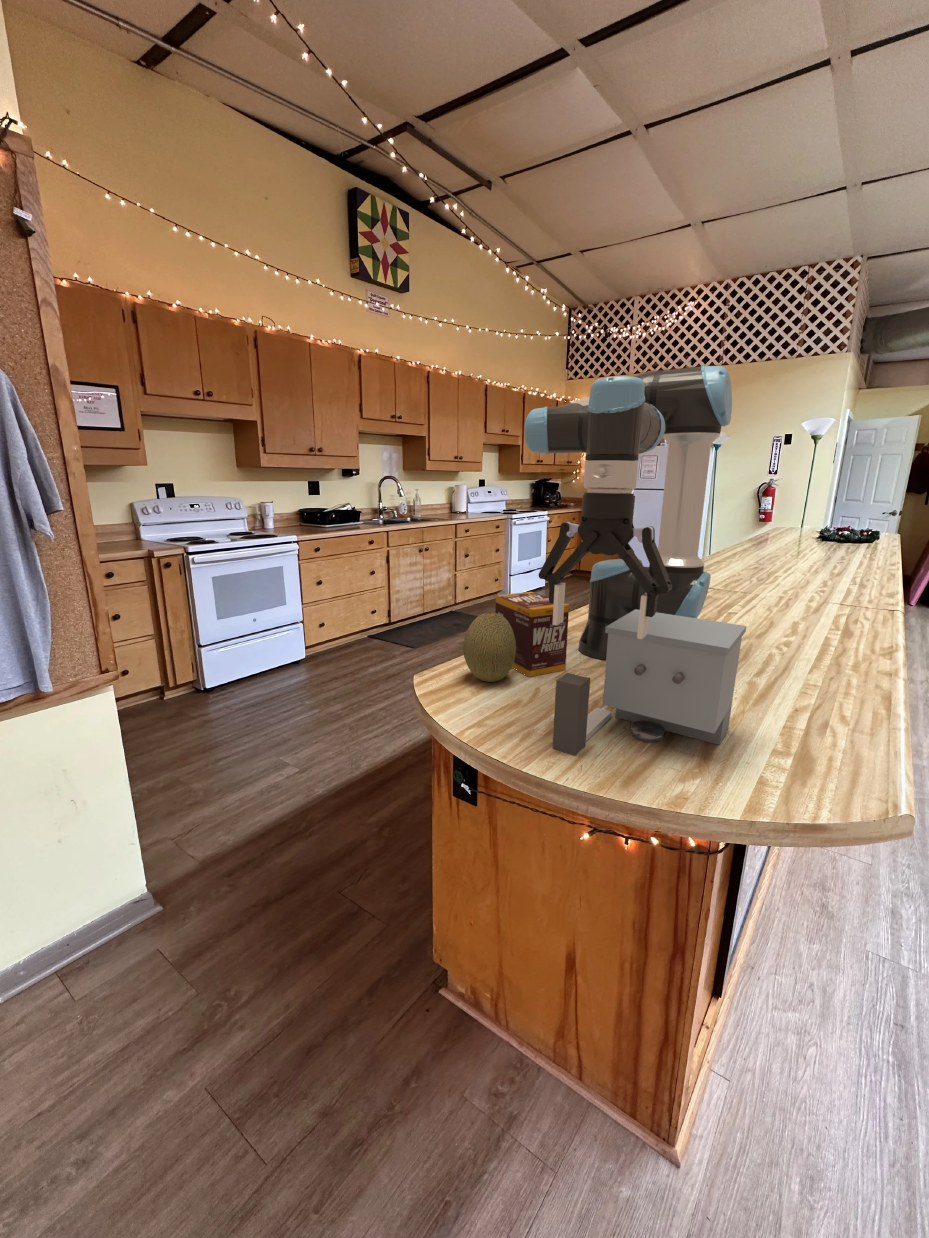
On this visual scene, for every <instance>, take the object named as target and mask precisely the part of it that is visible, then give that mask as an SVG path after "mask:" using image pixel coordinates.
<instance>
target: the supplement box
mask: <svg viewBox="0 0 929 1238" xmlns="http://www.w3.org/2000/svg"><path fill="white" fill-rule="evenodd" d="M553 606H554V603H550V602H549V596H545V595H543V594H540V593H536V592H534V591H526V592H516V593H507V594H498V595H495V611H494V613H497V614H500V615H502V616H503V617H504V618H505V619H506V620H507V621H508V622H509V624H510V626H511V628H512V630H513V633H514V636H515V641H516V654H515V660H514V663H513V665H512V667H513V668H512V669H514V668H515V669H517V670H518V672H519V671H520V672H522V673H523V675H524V674H525V675H524V676H526V677H527V676H528V677H527V678H530V677H531V678H532V677H536V675H537V676H541V675H546V674H552V673H557V672H561V671H566V665H567V649H568V648H567V647H568V631H569V629H568V628H569V612H570V603H566V602H564V617H563V622H562V623H560V624H558V625H552V624H553ZM515 669H514V670H515ZM517 670H516V671H517ZM520 672H519V673H520ZM522 673H521V674H522Z"/></svg>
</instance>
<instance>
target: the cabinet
mask: <svg viewBox="0 0 929 1238" xmlns="http://www.w3.org/2000/svg"><path fill="white" fill-rule="evenodd" d="M639 613H640V610H637V609H635V610H633V611H632V612H630V613H628V614H627V615H625V616H623V617H622V618H620V619H618V620H616V621H615V622H613V623H611V624H610V625H608V626H606V628H605V633H608V643H607V656H606V660H605V672H604V684H603V695H602V696H603V697H602V706H606V707H610V708H613V709H615V714H614V717H615V718H618V719H621V720H624V721H628V722H632V723H634V722H636V721H650V722H654V723H657V724H659V725H661V726H662V727H663V728H664V730H665V731H666V732H670V733H673V734H677V735H681V736H684V737H689V738H692V739H696V740H700V741H703V742H707V743H711V744H714V745H717V746H720V745H721V744H722V741H723V740H724V738H725V736H726V734H727V733H728V731H729V727H730V722H731V721H730V720H731V713H732V705H733V701H734V691H735V686H736V681H737V680H736V679H737V673H738V672H737V671H738V666H739V665H738V664H739V659H740V654H741V652H740V651H741V645H742V640H743V639H742V638H743V636H744V635H745V633H746V631H747V625H742V624H738V623H730V622H722V621H718V620H717V621H716V620H710V619H709V620H708V619H704V618H703V619H701V618H698V617H697V618H690V617H684V616H677V615H670V614H664V613H657V612H656V613H655V615H654V616H653V617H649V618H648V628H647V635H646V636H645V637H644V638H643V639H638V638H637V633H638V623H639ZM665 731H664V732H665Z"/></svg>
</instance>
